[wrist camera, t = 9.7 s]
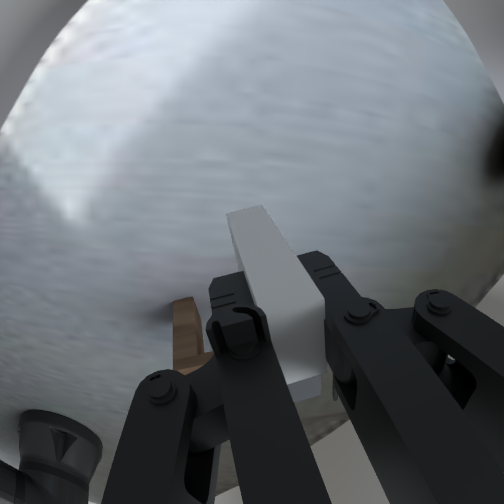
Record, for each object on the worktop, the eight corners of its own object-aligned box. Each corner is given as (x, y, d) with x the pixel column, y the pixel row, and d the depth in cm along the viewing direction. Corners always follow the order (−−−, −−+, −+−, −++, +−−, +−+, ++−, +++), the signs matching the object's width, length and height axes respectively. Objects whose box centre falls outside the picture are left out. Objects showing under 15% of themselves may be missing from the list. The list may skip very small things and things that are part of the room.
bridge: (317, 288, 33) (354, 347, 25) (182, 323, 32) (185, 393, 24) (315, 264, 32) (355, 321, 24) (173, 301, 30) (173, 371, 22)
